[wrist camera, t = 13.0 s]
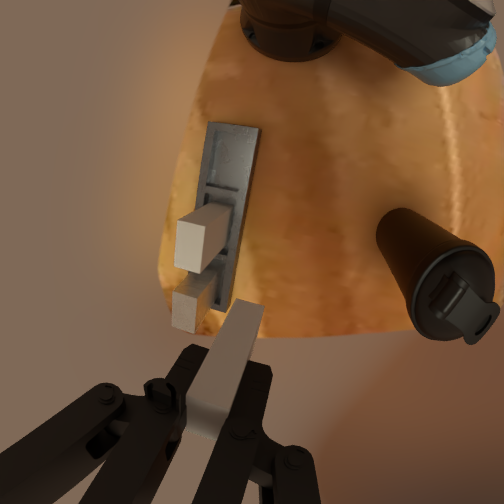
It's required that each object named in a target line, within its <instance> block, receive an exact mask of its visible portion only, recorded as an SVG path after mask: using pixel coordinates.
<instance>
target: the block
mask: <svg viewBox="0 0 504 504" xmlns="http://www.w3.org/2000/svg"><path fill="white" fill-rule="evenodd" d="M233 210H234V206H233V205H228V204H224V203H219V202H214V201H212V202H210V203H208V204H206V205H204V206H202V207H201V208H199V209H197V210H195V211H193V212H191V213H190V214H188V215H186V216H184V217H182V218H180V219H179V220H178V221H177V232H176V244H175V259H174V266H175V267H178V268H181V269H185V270H188V271H192V272H195V273H198V274H200V273H201V272H202V271H203V270H204V269H205V267H206V266H207V265H208V264H209V263H210V262H211V261H212V260H213V258H214V257H215V256H216V255H217V254H218V253H219V252H220V251H221V250H222V248H223V247H224V246H225V245H226V244H227V243H228V240H229V234H230V228H231V222H232V216H233Z"/></svg>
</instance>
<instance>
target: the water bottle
mask: <svg viewBox="0 0 504 504" xmlns="http://www.w3.org/2000/svg"><path fill="white" fill-rule="evenodd" d="M376 241H377V245H378V247H379V249H380V251H381V253H382V255H383V256H384V258H385V260H386V262H387V264H388V266H389V268H390V270H391V272H392V274H393V275H394V277H395V279H396V281H397V283H398V285H399V288H400V290H401V292H402V294H403V296H404V298H405V300H406V307H407V311H408V314H409V317H410V319H411V321H412V323H413V325H414V327H415V328H416V330H417V331H418V332H419V333H420V334H421V335H422V336H424V337H426V338H428V339H431V340H438V341H451V340H455V339H458V338H461V337H464V340H465V342H466V343H467V344H469V345H473V344H476V343H477V342H478V341H479V340H480V339H481V338H482V337H483V336H484V335H485V333H486V332H487V331H488V330H489V329H490V327H491V326H492V325H493V323H494V322H495V320H496V319H497V317H498V315H499V313H500V307H499V305H498V304H497V303H495V302H492V301H493V297H494V291H495V272H494V267H493V264H492V262H491V260H490V258H489V256H488V255H487V254H486V253H485V252H484V251H483V250H482V249H480V248H479V247H478V246H476V245H475V244H473V243H471V242H469V241H466V240H461V239H460V238H458V237H456V236H455V235H453V234H452V233H450V232H448V231H447V230H445V229H443V228H442V227H440V226H438V225H437V224H435V223H433V222H432V221H430V220H428V219H426V218H425V217H423V216H421V215H419V214H418V213H416V212H414V211H412V210H410V209H407V208H397V209H394V210H392V211H390V212H388V213H387V214H386V215H385V216H384V217H383V218H382V219H381V221H380V223H379V225H378V227H377V232H376Z"/></svg>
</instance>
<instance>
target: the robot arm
mask: <svg viewBox="0 0 504 504" xmlns="http://www.w3.org/2000/svg"><path fill="white" fill-rule="evenodd" d="M239 2H240V4H241V5H242V9H241V16H240V23H241V28H242V31H243V33H244V35H245V36H246V38H247V40H248V41H249V43H250V44H251V45H252V46H253V47H254V48H255V49H256V50H258V51H259V52H260V53H262V54H264V55H266V56H268V57H270V58H273V59H276V60H280V61H286V62H304V61H309V60H313V59H316V58H319V57H321V56H323V55H325V54H327V53H328V52H329V51H331V50H332V49H333V48H334V47H335V46H336V44H337V43H338V41H339V40H340V37H341V34H344V35H346V36H348V37H350V38H352V39H354V40H356V41H358V42H360V43H361V44H363V45H365V46H367V47H369V48H371V49H372V50H374V51H376V52H378V53H379V54H381V55H383V56H384V57H386V58H388V59H389V60H391V61H392V62H394V64H395V65H396V66H397V67H398V68H400V69H402V70H405V71H408V72H409V73H411V74H412V75H414V76H415V77H417V78H418V79H420V80H421V81H423V82H424V83H426V84H428V85H433V86H437V87H444V86H449V85H452V84H455V83H458V82H460V81H462V80H463V79H465V78H467V77H468V76H470V75H471V74H472V73H474V72H475V71H476V70H477V69H478V68H480V67H481V66H482V65H483V64H484V62H485V61H486V56H487V55H488V54H490V53H492V51H493V49H494V47H495V44H496V38H497V37H496V31H495V29H494V28H493V26H492V24H491V22H490V20H491V19H492V18H493V17H494V16H495V14H496V10H495V7H494V3H493V0H239ZM264 307H265V306H262V305H258V304H255V303H251V302H247V301H244V300H240V299H236V300H235V302H234V304H233V306H232V308H231V310H230V311H229V313H228V315H227V317H226V319H225V321H224V323H223V325H222V327H221V329H220V331H219V333H218V335H217V336H216V338H215V340H214V342H213V344H212V346H211V348H210V349H207V348H204V347H201V346H198V345H195V344H191V345H189V346H188V347H187V348H185V349H184V350H183V351H182V353H181V354H180V356H179V357H178V359H177V361H176V362H175V364H174V365H173V367H172V368H171V370H170V371H169V373H168V375H167V376H166V378H165V379H164V378H154V379H152V380H149V381H147V382H146V383H145V384H144V391H145V396H135V395H129V394H124V393H122V391H121V390H120V388H119V387H118V386H116V385H114V384H111V383H100V384H98V385H96V386H94V387H93V388H92V389H90V390H89V391H88V392H86V393H85V394H84V395H82V396H81V397H79V398H78V399H77V400H75V401H74V402H72V403H71V404H70V405H68V406H67V407H65V408H64V409H63V410H61V411H60V412H58V413H57V414H56V415H54V416H53V417H52V418H50V419H49V420H47V421H46V422H45V423H43V424H42V425H40V426H39V427H38V428H36V429H35V430H33V431H32V432H30V433H29V434H28V435H26V436H25V437H23V438H22V439H21V440H19V441H18V442H16V443H15V444H13V445H12V446H10V447H9V448H7V449H6V450H5V451H3V452H2V453H0V504H53V503H54V502H55V501H57V500H58V499H59V498H61V497H62V496H63V495H64V494H66V493H67V492H68V491H69V490H70V489H72V488H73V487H74V486H76V485H77V484H78V483H79V482H80V481H82V480H83V479H84V478H85V477H86V476H88V475H89V474H90V473H91V472H92V471H93V470H95V469H96V468H97V467H98V466H99V465H100V464H102V463H103V462H104V461H105V460H106V461H105V462H104V464H103V466H102V467H101V469H100V470H99V472H98V473H97V475H96V477H95V478H94V480H93V481H92V483H91V485H90V486H89V488H88V489H87V491H86V492H85V494H84V496H83V497H82V499H81V500H80V502H79V504H151V502H152V500H153V498H154V496H155V494H156V492H157V490H158V488H159V486H160V484H161V482H162V480H163V478H164V476H165V474H166V471H167V469H168V467H169V465H170V463H171V461H172V459H173V457H174V455H175V453H176V451H177V449H178V447H179V444H180V442H181V438H182V433H183V431H184V429H185V426H186V431H188V432H191V433H194V434H197V435H200V436H203V437H206V438H209V439H212V440H215V441H216V444H215V446H214V449H213V451H212V454H211V457H210V459H209V462H208V464H207V467H206V469H205V472H204V474H203V477H202V480H201V482H200V484H199V487H198V489H197V492H196V494H195V497H194V499H193V501H192V504H241V503H242V500H243V496H244V493H245V489H246V485H247V483H248V479H249V480H251V481H253V482H255V483H257V484H258V485H259V501H260V503H259V504H321V500H320V495H319V489H318V483H317V477H316V471H315V465H314V460H313V457H312V455H311V453H309V451H308V450H307V449H305V448H303V447H300V446H295V445H291V446H285V447H284V446H282V445H280V444H278V443H276V442H275V441H273V440H271V439H270V438H269V437H268V436H267V435H266V434H265V432H264V430H263V427H262V420H263V416H264V411H265V407H266V403H267V399H268V395H269V390H270V386H271V382H272V377H273V374H272V371H271V367H270V366H268V365H265V364H261V363H257V362H253V361H250V357H251V354H252V351H253V348H254V345H255V342H256V338H257V334H258V330H259V326H260V322H261V318H262V315H263V311H264Z"/></svg>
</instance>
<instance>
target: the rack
mask: <svg viewBox="0 0 504 504" xmlns="http://www.w3.org/2000/svg"><path fill="white" fill-rule="evenodd" d="M261 132H262V130H261V129H259V128H253V127H246V126H240V125H233V124H225V123H217V122H208V126H207V131H206V137H205V143H204V149H203V156H202V162H201V169H200V175H199V183H198V190H197V197H196V205H195V209H194V211H195V210H197V209H199V208H201V207H202V206H204V205H206V204H208V203H210V202H212V201H214V202H219V203H224V204H228V205H233V206H234V210H233V216H232V222H231V228H230V234H229V240H228V243H227V244H226V245H225V246H224V247H223V248H222V250H221V251H220V252H219V253H218V254H217V255H216V256H215V257H214V258H213V260H212V261H211V262H210V263H209V264H208V265H207V266H206V267H205V269H204V270H203V271H202V272H201V273H200V274H198V273H195V272H192V271H189V272H188V275H187V277H186V278H185V279H184V280H183V281H182V282H181V283H180V284H179V285H178V286H177V287H176V288H175V289H174V290H173V296H172V326H173V327H176V328H179V329H181V330H184V331H187V332H190V333H193V334H195V332H196V330H197V329H198V327H199V326H200V324H201V323H202V321H203V319H204V318H205V316H206V315H207V313H208V312H209V310H210V308H211V309H214V310H218V311H221V312H224V313H226V312H227V310H228V308H229V306H230V302H231V297H232V291H233V285H234V279H235V273H236V268H237V262H238V256H239V251H240V245H241V240H242V234H243V228H244V223H245V217H246V212H247V207H248V201H249V196H250V190H251V185H252V180H253V174H254V169H255V164H256V158H257V153H258V148H259V143H260V138H261Z"/></svg>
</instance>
